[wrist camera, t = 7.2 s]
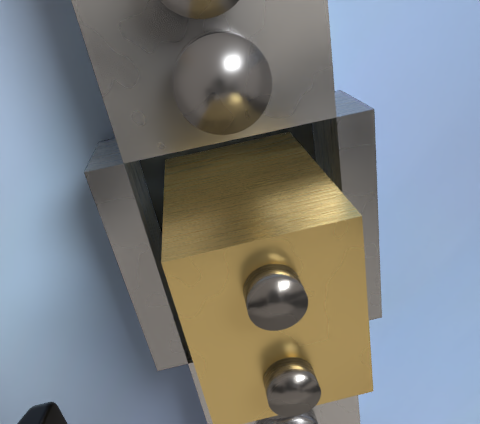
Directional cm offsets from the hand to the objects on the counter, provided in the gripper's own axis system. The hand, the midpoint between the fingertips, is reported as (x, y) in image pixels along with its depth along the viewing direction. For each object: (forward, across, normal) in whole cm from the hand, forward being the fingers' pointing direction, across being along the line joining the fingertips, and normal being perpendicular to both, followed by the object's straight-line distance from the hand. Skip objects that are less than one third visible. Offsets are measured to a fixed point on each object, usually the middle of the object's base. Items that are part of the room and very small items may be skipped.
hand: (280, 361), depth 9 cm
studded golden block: (+7, 0, 0) cm, 7 cm away
